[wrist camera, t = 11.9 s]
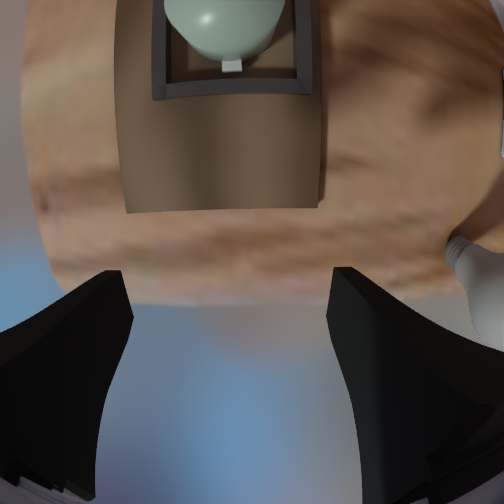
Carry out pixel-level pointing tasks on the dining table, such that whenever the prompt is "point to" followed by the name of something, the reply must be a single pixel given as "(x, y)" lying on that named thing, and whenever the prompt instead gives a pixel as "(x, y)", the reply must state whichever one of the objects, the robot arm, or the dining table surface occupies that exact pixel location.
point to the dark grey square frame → (295, 86)
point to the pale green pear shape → (226, 27)
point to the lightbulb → (480, 286)
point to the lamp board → (214, 125)
